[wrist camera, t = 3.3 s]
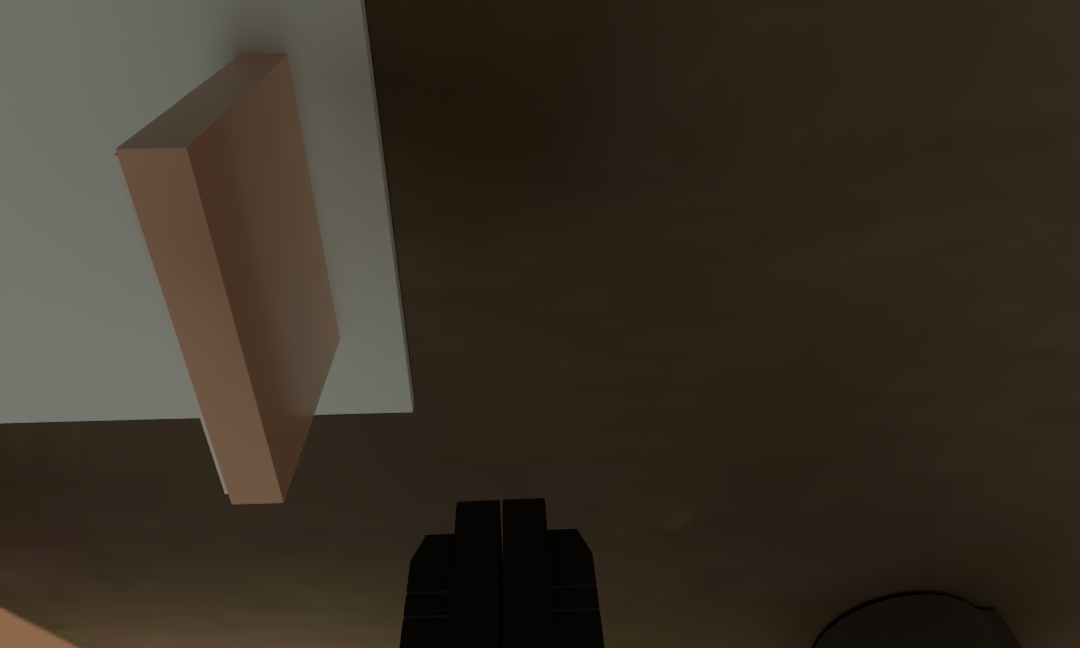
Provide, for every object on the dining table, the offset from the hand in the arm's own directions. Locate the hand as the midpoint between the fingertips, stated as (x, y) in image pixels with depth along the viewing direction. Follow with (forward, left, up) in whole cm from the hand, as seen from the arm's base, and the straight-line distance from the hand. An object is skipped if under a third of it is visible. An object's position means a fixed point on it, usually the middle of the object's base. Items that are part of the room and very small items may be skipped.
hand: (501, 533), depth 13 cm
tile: (+7, 0, -14) cm, 15 cm away
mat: (+13, 0, -14) cm, 19 cm away
